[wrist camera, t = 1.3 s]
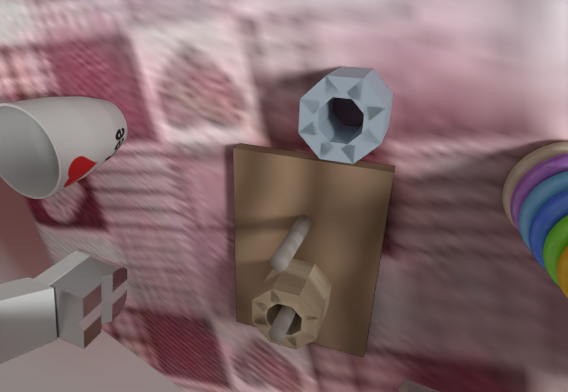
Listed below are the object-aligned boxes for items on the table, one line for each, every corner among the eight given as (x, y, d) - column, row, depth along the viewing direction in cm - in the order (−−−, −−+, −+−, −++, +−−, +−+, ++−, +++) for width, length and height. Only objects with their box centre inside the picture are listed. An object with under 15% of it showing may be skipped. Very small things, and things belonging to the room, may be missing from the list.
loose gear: (397, 70, 31) (390, 81, 26) (385, 147, 33) (377, 167, 29) (319, 64, 32) (301, 73, 28) (314, 137, 35) (297, 155, 31)
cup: (103, 171, 45) (23, 210, 36) (61, 103, 43) (-34, 127, 34) (154, 144, 41) (78, 180, 32) (110, 68, 39) (17, 85, 30)
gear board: (395, 166, 34) (383, 209, 26) (366, 346, 42) (350, 417, 35) (240, 143, 38) (192, 175, 30) (242, 312, 46) (205, 370, 39)
